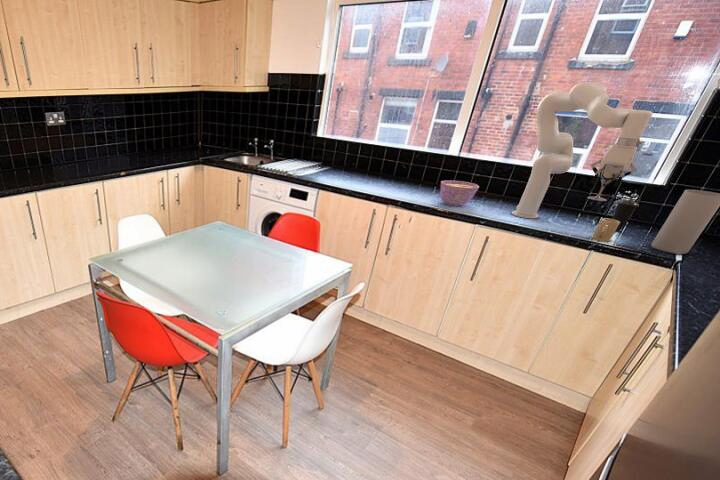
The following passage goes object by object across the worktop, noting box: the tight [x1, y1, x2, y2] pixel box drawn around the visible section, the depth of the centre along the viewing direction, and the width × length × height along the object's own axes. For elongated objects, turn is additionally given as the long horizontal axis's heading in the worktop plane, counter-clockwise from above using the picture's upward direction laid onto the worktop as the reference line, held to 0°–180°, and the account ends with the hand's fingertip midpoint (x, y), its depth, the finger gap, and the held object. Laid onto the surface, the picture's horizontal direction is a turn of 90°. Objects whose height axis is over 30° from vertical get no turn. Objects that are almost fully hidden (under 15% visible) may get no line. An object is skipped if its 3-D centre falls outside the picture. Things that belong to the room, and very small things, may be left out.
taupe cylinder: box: [650, 189, 720, 255], centre depth 184 cm, size 12×12×25 cm
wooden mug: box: [591, 217, 620, 242], centre depth 198 cm, size 10×7×9 cm
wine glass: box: [587, 164, 624, 202], centre depth 191 cm, size 8×8×15 cm
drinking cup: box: [611, 189, 640, 233], centre depth 209 cm, size 8×8×20 cm
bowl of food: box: [439, 179, 480, 207], centre depth 246 cm, size 20×20×12 cm
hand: (604, 184), depth 192 cm, fingers closed on wine glass, 7 cm apart
